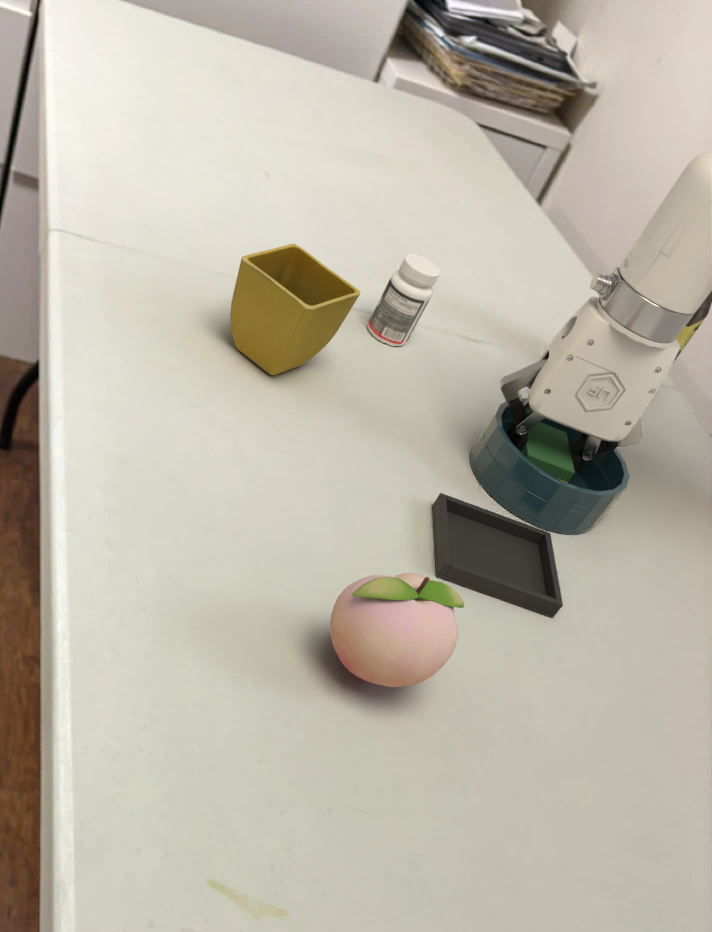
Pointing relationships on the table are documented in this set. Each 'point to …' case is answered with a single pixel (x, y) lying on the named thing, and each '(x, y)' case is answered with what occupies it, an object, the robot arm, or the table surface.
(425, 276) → the pill bottle
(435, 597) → the decorative fruit
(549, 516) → the bowl
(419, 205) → the table surface
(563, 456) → the sponge
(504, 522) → the sponge tray
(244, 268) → the flower pot
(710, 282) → the robot arm
